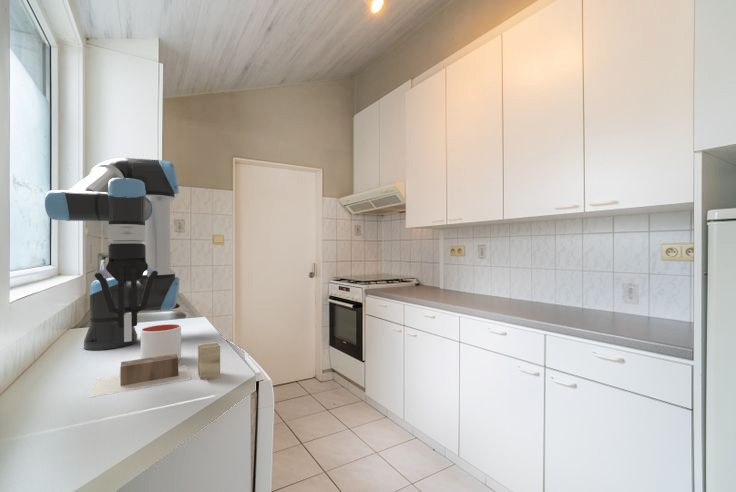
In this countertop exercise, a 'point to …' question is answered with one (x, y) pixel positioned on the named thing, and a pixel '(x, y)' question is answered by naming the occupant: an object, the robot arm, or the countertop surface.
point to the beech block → (209, 361)
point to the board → (113, 383)
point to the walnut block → (148, 369)
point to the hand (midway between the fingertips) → (128, 340)
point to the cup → (161, 341)
